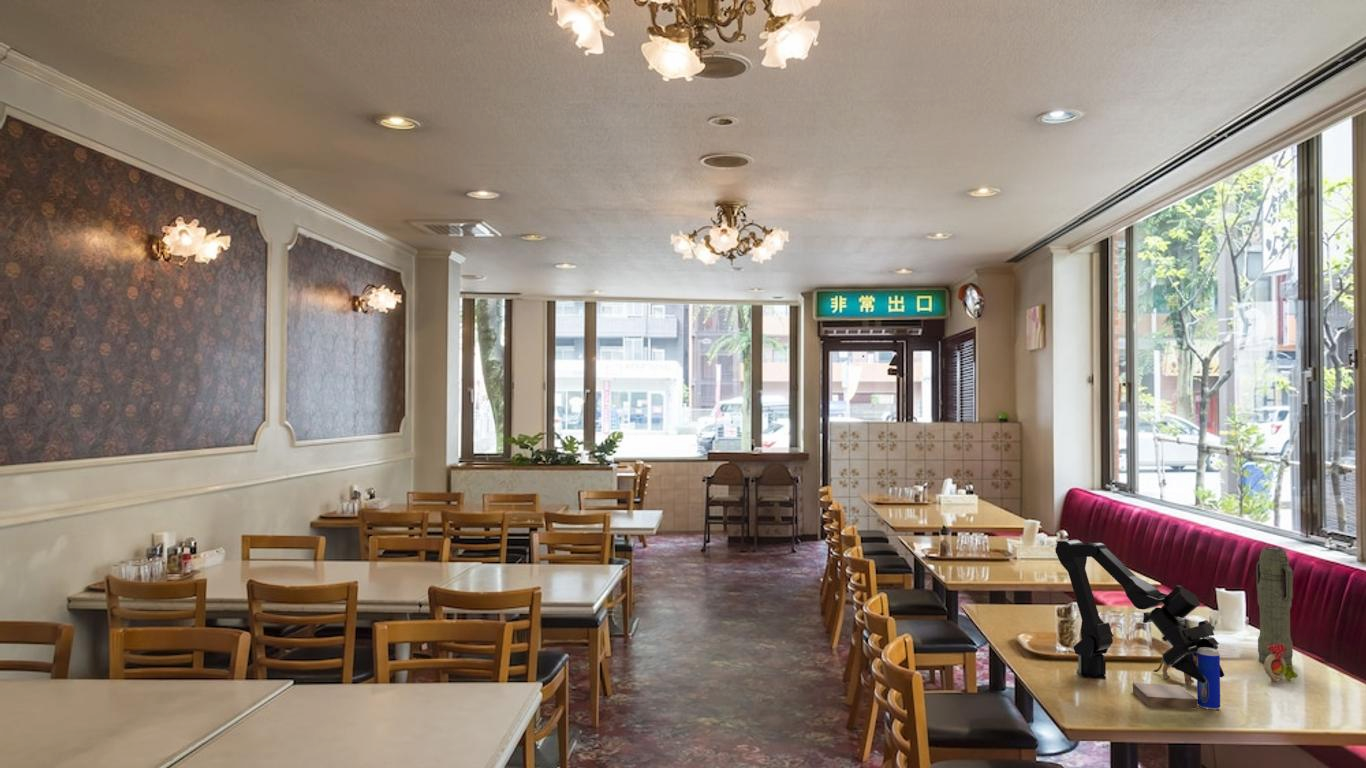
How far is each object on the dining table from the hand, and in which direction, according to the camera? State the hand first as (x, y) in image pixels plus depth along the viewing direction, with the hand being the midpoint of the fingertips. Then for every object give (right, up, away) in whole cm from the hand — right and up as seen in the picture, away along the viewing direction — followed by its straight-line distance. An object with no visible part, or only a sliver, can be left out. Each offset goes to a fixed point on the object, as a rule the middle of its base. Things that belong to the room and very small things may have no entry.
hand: (1214, 679), depth 234 cm
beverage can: (-1, -8, +1) cm, 8 cm away
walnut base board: (-9, -8, +7) cm, 14 cm away
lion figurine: (+5, -9, +25) cm, 27 cm away
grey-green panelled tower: (+44, -9, +43) cm, 62 cm away
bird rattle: (+33, -9, +24) cm, 42 cm away
